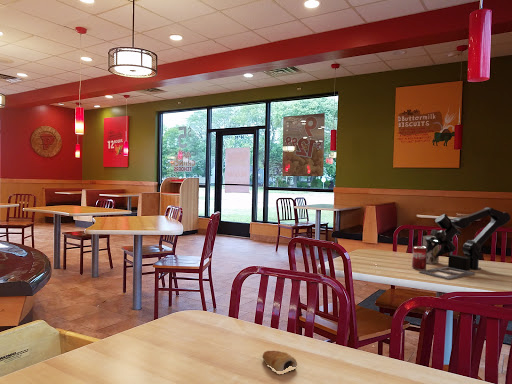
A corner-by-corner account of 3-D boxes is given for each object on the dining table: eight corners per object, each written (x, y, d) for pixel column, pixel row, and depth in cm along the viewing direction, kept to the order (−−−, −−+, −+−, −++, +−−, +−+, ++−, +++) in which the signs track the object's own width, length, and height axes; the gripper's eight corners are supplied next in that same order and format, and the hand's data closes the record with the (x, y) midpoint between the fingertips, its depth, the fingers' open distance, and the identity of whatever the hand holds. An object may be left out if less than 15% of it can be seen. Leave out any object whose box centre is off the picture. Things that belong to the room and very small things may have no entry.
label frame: (445, 267, 219) (445, 266, 219) (474, 274, 205) (474, 272, 205) (419, 272, 204) (419, 271, 204) (448, 279, 191) (448, 278, 191)
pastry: (255, 361, 98) (256, 346, 98) (276, 355, 102) (277, 341, 102) (278, 377, 90) (279, 361, 90) (300, 370, 94) (301, 355, 94)
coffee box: (431, 264, 227) (433, 237, 227) (421, 262, 232) (422, 235, 232) (439, 262, 233) (440, 236, 233) (428, 260, 238) (430, 234, 238)
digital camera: (471, 270, 216) (472, 257, 216) (466, 271, 213) (467, 258, 213) (453, 266, 225) (453, 254, 224) (448, 267, 221) (448, 255, 221)
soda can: (425, 270, 209) (426, 249, 208) (410, 268, 213) (411, 247, 212) (427, 268, 215) (428, 247, 215) (413, 266, 219) (414, 245, 218)
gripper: (428, 222, 225) (411, 241, 223) (452, 226, 207) (434, 247, 205) (439, 236, 228) (422, 254, 225) (463, 241, 209) (445, 261, 207)
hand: (430, 254), depth 215 cm, fingers open, 9 cm apart
